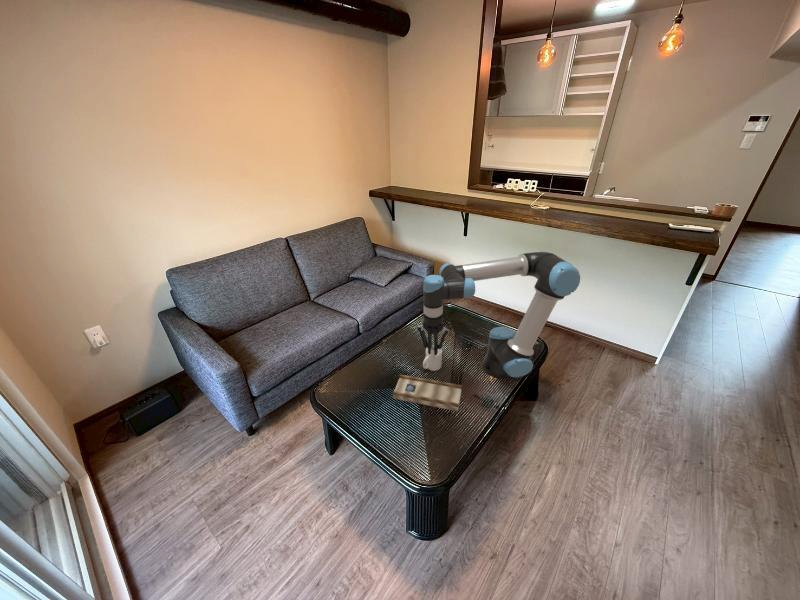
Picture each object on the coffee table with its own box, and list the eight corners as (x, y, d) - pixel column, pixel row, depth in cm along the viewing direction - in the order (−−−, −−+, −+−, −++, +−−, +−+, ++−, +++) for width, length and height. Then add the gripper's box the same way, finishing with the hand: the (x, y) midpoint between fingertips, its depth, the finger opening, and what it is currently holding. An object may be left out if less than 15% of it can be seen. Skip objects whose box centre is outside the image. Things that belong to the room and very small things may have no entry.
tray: (461, 391, 143) (461, 385, 141) (458, 411, 133) (458, 404, 131) (400, 380, 151) (399, 374, 149) (393, 398, 141) (392, 392, 139)
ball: (406, 387, 145) (412, 390, 145) (404, 392, 142) (410, 396, 142) (408, 382, 143) (415, 386, 143) (406, 387, 140) (413, 391, 140)
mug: (428, 377, 152) (429, 361, 147) (417, 369, 157) (417, 353, 152) (444, 366, 159) (445, 350, 154) (433, 358, 164) (433, 343, 159)
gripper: (451, 310, 121) (449, 356, 132) (419, 306, 124) (420, 352, 136) (448, 320, 115) (446, 367, 126) (414, 316, 118) (416, 363, 129)
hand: (432, 359), depth 131 cm, fingers closed
